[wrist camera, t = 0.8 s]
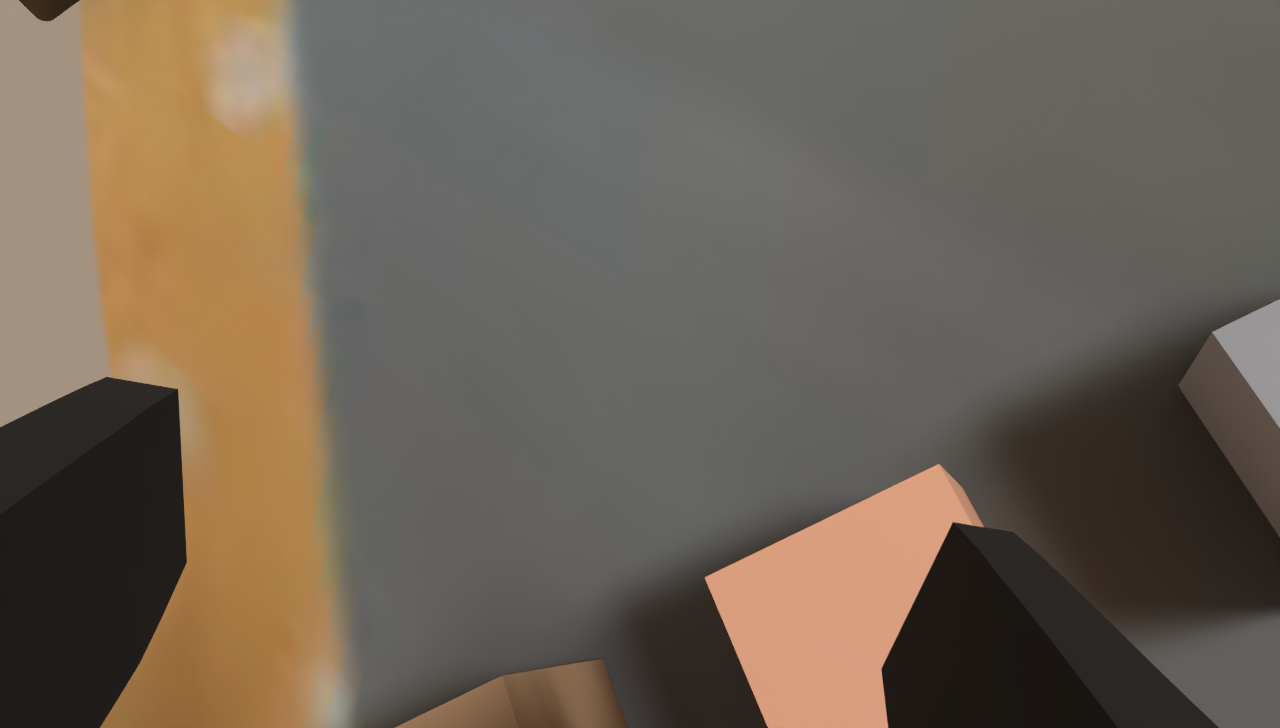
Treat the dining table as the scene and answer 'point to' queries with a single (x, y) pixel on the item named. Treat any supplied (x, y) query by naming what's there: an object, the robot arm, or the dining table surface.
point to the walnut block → (534, 701)
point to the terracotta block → (836, 602)
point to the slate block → (1243, 401)
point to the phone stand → (47, 7)
